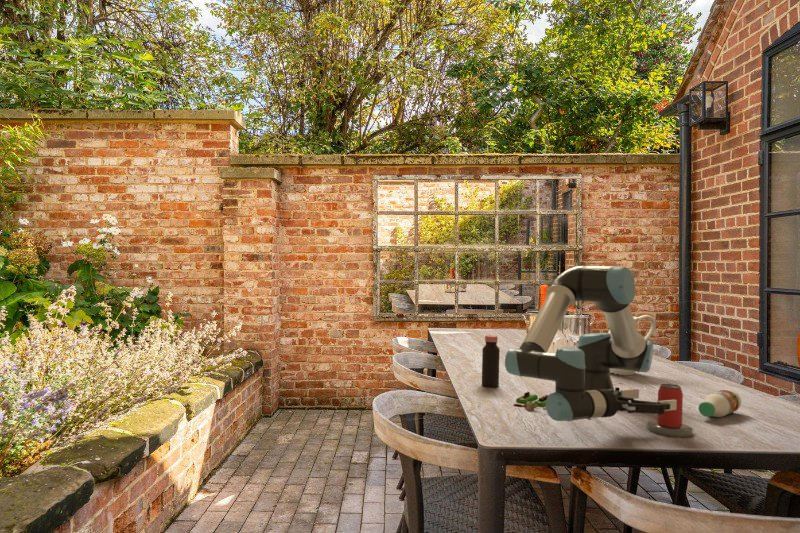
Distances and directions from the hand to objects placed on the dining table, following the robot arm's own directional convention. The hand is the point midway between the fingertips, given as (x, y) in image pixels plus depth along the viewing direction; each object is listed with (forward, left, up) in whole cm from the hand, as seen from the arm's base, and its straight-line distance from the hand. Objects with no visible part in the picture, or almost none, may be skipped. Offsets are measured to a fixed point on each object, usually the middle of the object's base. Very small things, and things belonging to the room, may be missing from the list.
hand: (656, 398), depth 156 cm
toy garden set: (-32, +17, -11) cm, 38 cm away
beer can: (+4, +4, -9) cm, 10 cm away
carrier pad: (+4, +4, -10) cm, 12 cm away
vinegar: (-56, +42, -10) cm, 71 cm away
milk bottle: (+27, +39, -6) cm, 48 cm away
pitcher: (-1, +97, -10) cm, 98 cm away
